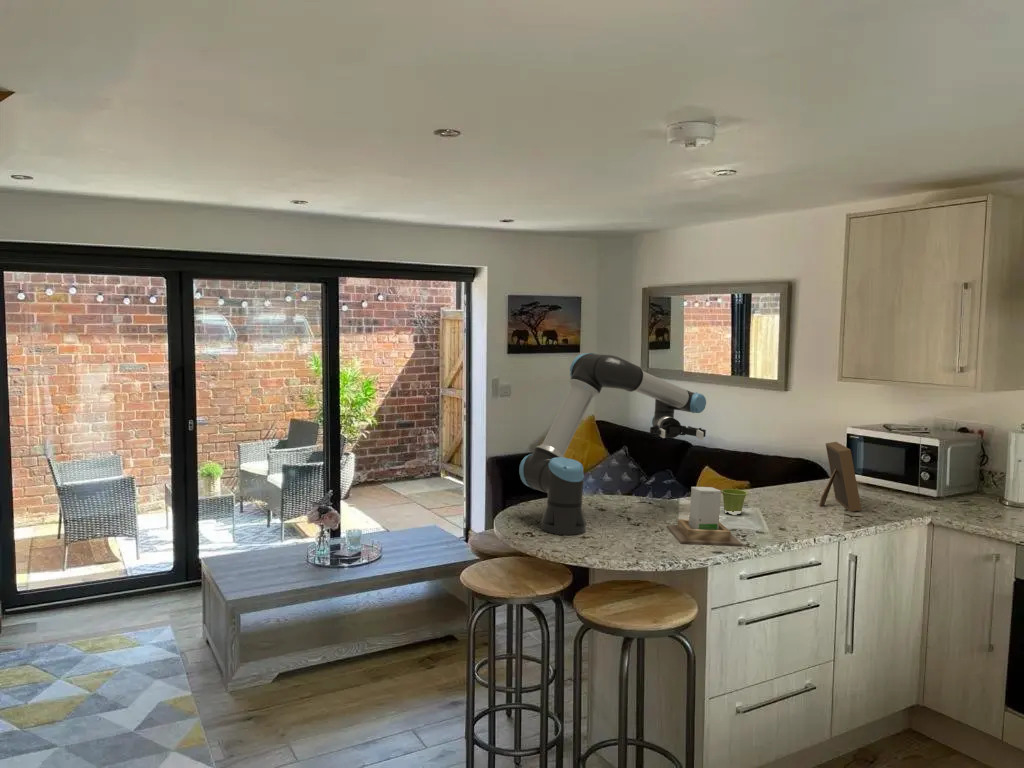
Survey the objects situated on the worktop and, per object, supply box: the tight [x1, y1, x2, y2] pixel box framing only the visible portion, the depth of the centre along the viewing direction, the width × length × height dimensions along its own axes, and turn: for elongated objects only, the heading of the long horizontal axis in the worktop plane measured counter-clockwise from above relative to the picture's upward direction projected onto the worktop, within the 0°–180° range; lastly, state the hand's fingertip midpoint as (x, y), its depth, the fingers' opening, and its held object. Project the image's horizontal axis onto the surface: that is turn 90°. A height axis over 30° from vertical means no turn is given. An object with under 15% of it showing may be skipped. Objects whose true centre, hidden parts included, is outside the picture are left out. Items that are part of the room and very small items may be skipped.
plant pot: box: [720, 488, 748, 512], centre depth 288 cm, size 9×9×9 cm
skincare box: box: [688, 486, 722, 530], centre depth 253 cm, size 8×7×16 cm
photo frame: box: [818, 441, 862, 513], centre depth 311 cm, size 15×22×25 cm
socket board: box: [666, 518, 743, 547], centre depth 253 cm, size 20×20×4 cm
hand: (683, 435), depth 266 cm, fingers open, 13 cm apart
